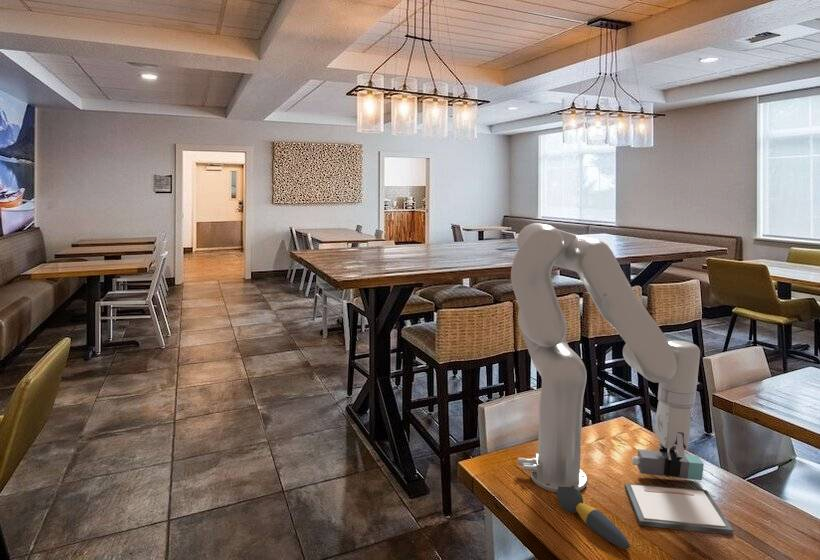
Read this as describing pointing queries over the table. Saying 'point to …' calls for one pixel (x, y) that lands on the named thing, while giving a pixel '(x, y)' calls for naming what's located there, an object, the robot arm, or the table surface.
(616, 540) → the paintbrush
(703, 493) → the drawing board
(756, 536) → the table surface
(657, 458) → the teal-tipped grey bar
